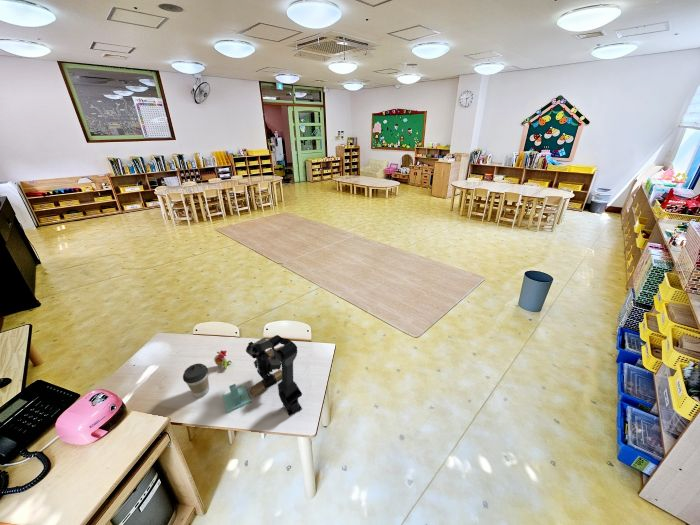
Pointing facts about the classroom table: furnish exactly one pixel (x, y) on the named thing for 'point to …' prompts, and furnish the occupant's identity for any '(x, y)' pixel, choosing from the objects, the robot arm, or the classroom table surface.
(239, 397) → the fulcrum block
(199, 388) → the coffee cup
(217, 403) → the classroom table surface
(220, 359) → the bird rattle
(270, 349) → the wooden fragment
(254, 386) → the walnut bar
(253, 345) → the robot arm
